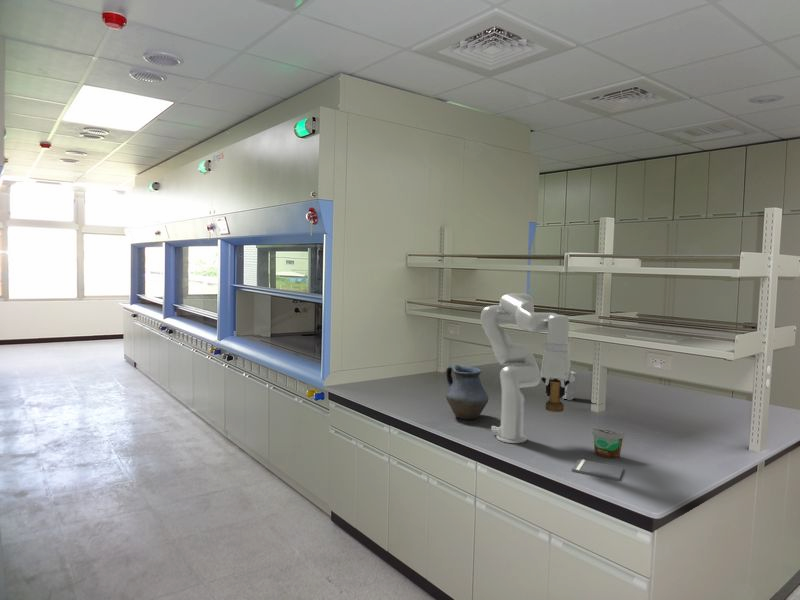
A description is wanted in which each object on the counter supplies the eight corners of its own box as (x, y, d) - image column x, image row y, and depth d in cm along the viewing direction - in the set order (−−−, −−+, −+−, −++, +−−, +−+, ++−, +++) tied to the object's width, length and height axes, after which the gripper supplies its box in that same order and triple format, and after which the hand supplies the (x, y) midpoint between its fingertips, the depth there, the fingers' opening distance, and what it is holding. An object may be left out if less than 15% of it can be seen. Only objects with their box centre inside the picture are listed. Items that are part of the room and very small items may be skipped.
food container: (587, 454, 212) (588, 429, 212) (591, 450, 217) (592, 426, 217) (620, 461, 205) (621, 436, 205) (623, 457, 210) (625, 432, 210)
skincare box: (556, 397, 308) (557, 370, 307) (566, 396, 311) (567, 369, 310) (566, 401, 300) (567, 372, 299) (576, 400, 303) (577, 372, 302)
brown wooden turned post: (562, 412, 198) (564, 364, 197) (544, 410, 201) (546, 363, 199) (564, 408, 204) (566, 361, 203) (546, 406, 207) (548, 360, 206)
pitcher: (476, 425, 248) (478, 372, 247) (434, 417, 260) (436, 366, 258) (493, 416, 265) (495, 365, 264) (454, 408, 277) (455, 360, 276)
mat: (571, 471, 194) (571, 468, 194) (578, 461, 205) (578, 458, 205) (619, 480, 186) (619, 477, 186) (623, 469, 197) (623, 467, 197)
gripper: (532, 346, 202) (530, 395, 203) (578, 351, 194) (575, 401, 195) (537, 344, 208) (535, 391, 209) (582, 348, 200) (580, 397, 201)
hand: (555, 395), depth 202 cm, fingers closed on brown wooden turned post, 4 cm apart
